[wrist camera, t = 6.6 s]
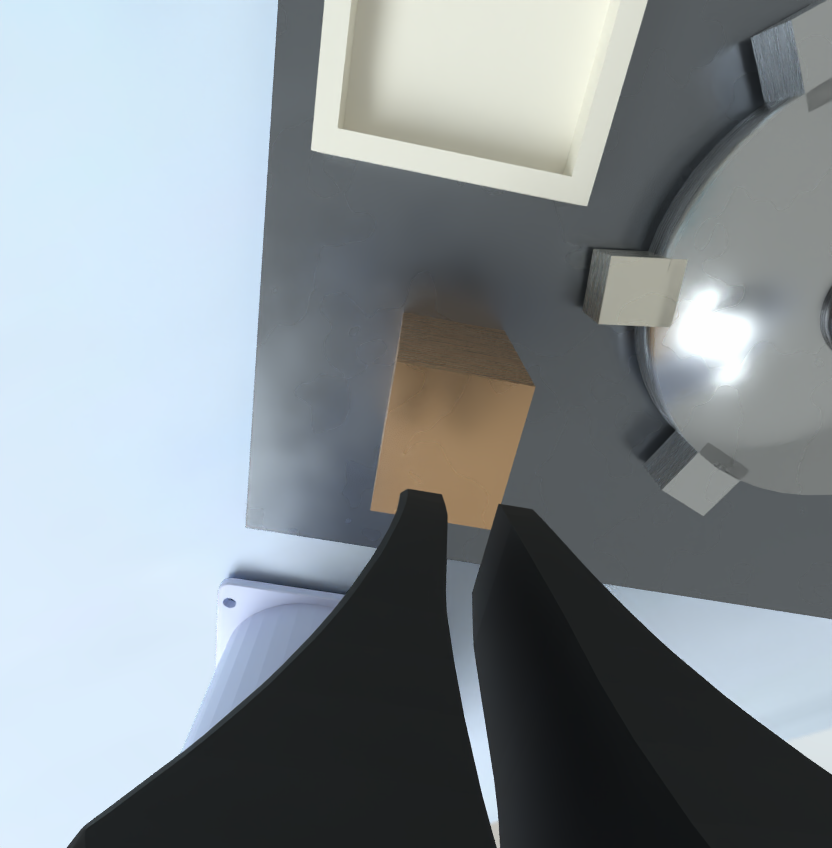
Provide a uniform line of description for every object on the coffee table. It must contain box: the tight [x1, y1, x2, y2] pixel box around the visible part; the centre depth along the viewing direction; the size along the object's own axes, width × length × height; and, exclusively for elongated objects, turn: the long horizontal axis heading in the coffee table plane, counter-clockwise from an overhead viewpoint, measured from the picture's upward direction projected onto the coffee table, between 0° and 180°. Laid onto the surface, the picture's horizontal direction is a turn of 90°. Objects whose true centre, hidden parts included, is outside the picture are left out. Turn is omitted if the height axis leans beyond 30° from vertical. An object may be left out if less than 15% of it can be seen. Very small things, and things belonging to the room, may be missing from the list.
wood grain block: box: [370, 312, 535, 530], centre depth 15 cm, size 4×3×5 cm
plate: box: [245, 0, 832, 619], centre depth 17 cm, size 20×24×1 cm
